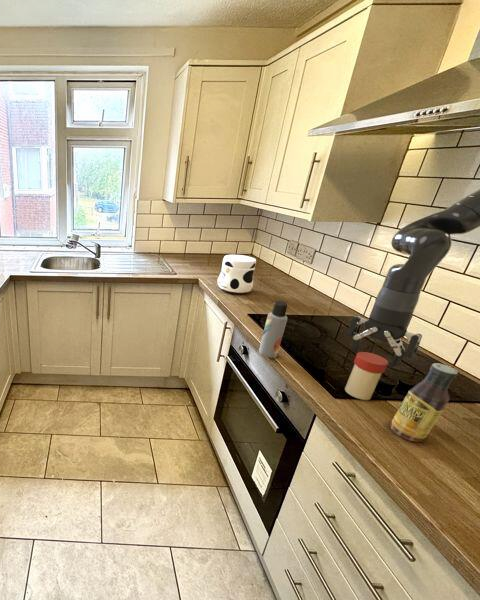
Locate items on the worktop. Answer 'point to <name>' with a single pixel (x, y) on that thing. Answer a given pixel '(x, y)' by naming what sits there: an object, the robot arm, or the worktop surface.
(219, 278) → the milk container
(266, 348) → the lotion bottle
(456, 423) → the worktop surface
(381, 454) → the worktop surface
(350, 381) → the jar
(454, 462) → the worktop surface
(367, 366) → the jar lid
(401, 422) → the sauce bottle
